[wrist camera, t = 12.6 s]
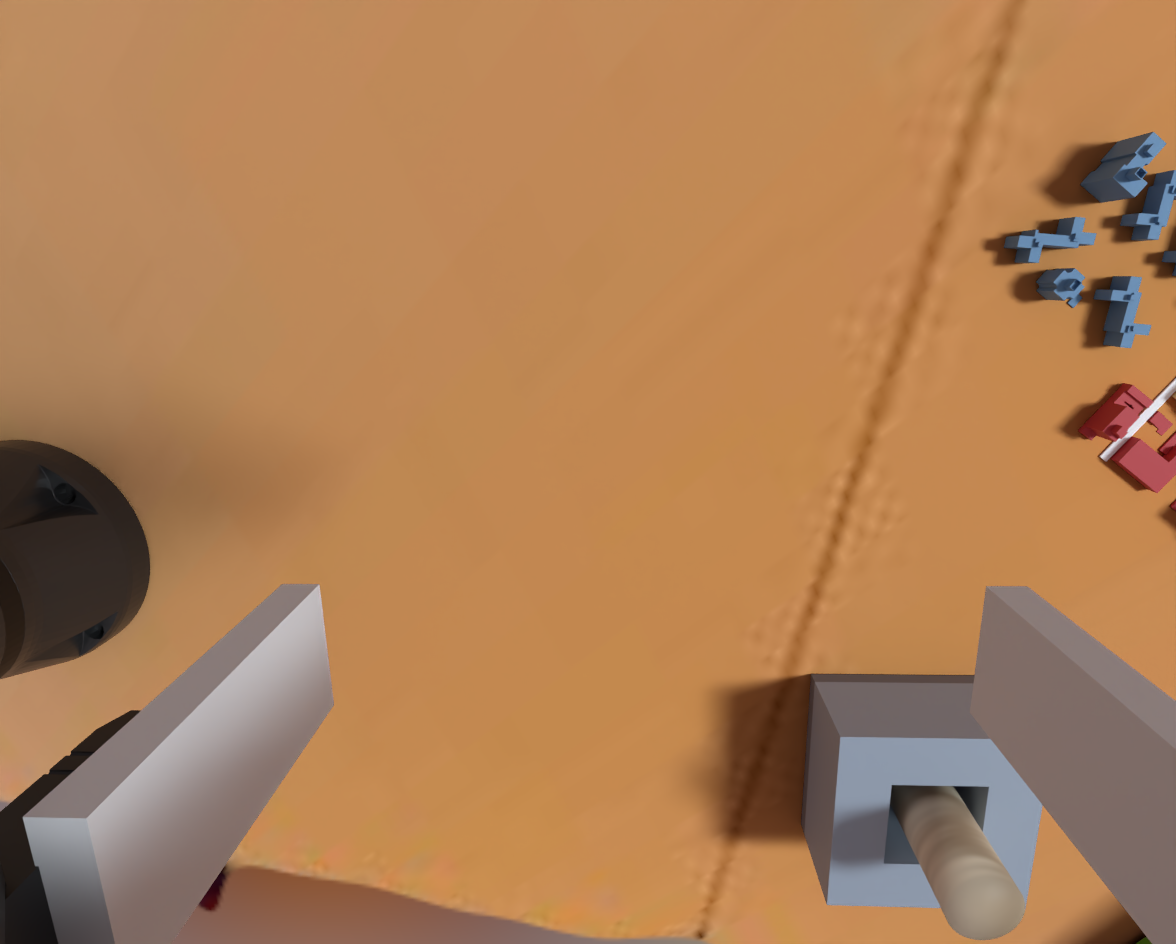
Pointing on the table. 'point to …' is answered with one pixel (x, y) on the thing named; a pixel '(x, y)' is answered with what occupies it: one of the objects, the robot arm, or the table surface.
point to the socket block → (902, 783)
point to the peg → (958, 861)
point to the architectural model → (1118, 302)
